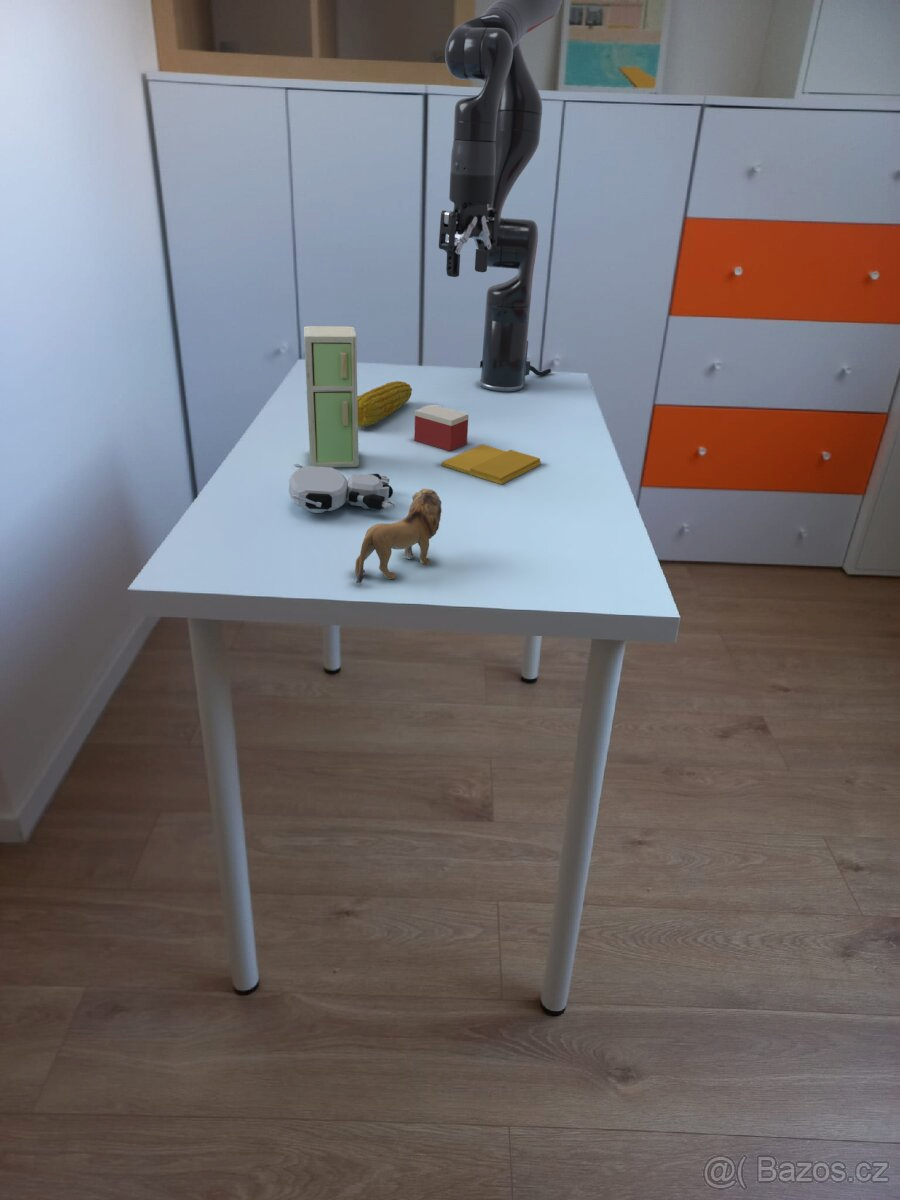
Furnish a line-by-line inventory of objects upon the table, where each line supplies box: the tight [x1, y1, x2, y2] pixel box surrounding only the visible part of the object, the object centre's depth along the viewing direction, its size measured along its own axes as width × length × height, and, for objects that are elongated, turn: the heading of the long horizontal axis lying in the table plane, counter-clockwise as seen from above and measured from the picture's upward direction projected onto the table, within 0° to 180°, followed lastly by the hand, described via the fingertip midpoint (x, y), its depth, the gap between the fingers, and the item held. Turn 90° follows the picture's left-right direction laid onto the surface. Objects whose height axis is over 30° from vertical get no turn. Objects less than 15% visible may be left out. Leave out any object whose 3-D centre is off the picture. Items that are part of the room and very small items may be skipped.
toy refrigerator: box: [303, 325, 360, 469], centre depth 131 cm, size 8×7×21 cm
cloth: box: [441, 444, 542, 485], centre depth 138 cm, size 12×12×1 cm
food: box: [357, 380, 413, 428], centre depth 157 cm, size 21×6×6 cm, turn 159°
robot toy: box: [288, 463, 395, 514], centre depth 121 cm, size 12×4×15 cm
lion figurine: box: [354, 488, 443, 584], centre depth 104 cm, size 15×5×9 cm, turn 142°
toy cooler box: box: [413, 404, 469, 452], centre depth 146 cm, size 8×5×6 cm, turn 53°
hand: (467, 274), depth 147 cm, fingers open, 8 cm apart
